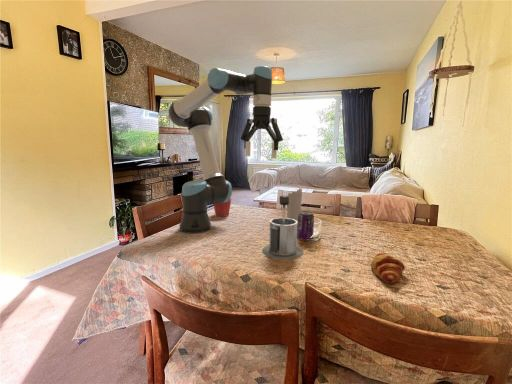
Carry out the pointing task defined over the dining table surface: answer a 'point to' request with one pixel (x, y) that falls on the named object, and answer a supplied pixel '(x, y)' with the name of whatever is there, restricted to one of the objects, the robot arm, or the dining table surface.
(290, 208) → the white tall block
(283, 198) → the plunger
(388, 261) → the croissant
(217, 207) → the flower pot
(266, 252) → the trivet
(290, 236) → the faceted metal cup
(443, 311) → the dining table surface
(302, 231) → the beverage can
